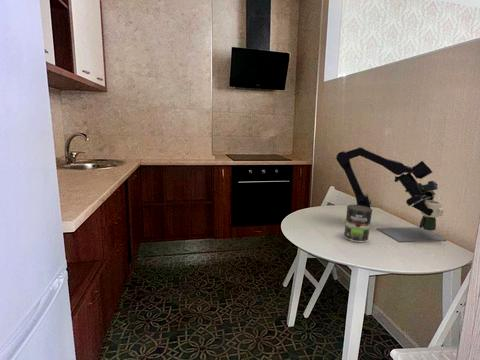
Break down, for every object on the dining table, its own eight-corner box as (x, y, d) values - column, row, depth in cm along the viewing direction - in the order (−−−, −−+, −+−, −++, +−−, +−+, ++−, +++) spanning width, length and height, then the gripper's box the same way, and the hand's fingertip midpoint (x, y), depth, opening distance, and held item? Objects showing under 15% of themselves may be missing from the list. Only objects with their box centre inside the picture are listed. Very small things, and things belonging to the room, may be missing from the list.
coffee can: (368, 244, 124) (373, 212, 121) (343, 240, 128) (346, 209, 125) (367, 236, 133) (371, 206, 131) (344, 232, 137) (347, 203, 134)
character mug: (410, 225, 135) (415, 198, 133) (421, 224, 138) (426, 198, 135) (433, 234, 126) (438, 205, 123) (444, 233, 128) (450, 204, 126)
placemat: (399, 242, 127) (399, 241, 127) (376, 229, 143) (376, 228, 143) (446, 240, 131) (446, 239, 131) (419, 228, 147) (419, 227, 147)
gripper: (418, 176, 124) (443, 208, 118) (434, 173, 136) (457, 202, 130) (396, 190, 132) (419, 221, 125) (413, 186, 143) (434, 214, 137)
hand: (433, 214), depth 129 cm, fingers closed on character mug, 7 cm apart
